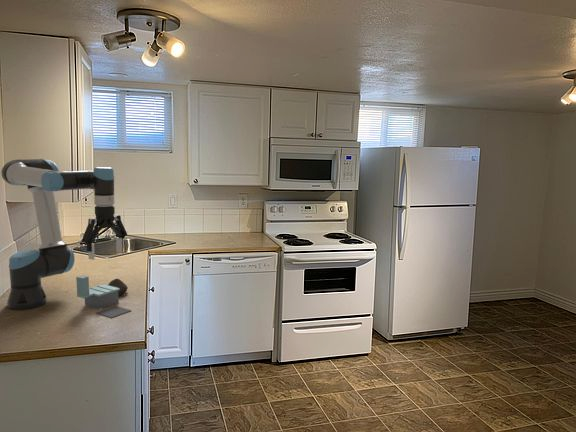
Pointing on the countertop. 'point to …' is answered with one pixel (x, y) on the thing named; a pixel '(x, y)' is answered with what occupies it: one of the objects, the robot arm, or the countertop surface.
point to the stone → (119, 286)
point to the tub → (102, 300)
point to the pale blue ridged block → (98, 291)
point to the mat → (113, 311)
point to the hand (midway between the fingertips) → (105, 255)
